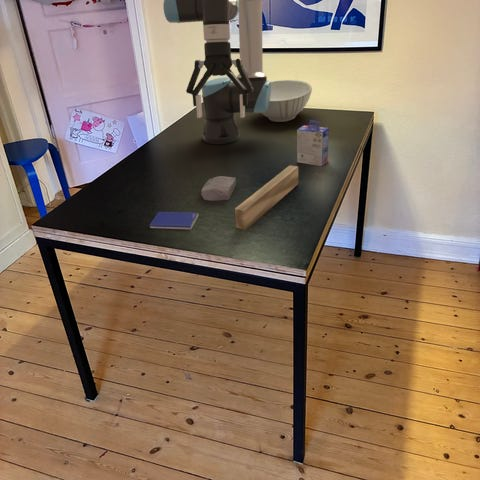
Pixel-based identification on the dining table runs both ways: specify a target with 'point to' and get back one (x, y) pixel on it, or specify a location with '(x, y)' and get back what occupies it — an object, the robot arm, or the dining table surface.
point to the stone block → (218, 188)
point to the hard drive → (174, 220)
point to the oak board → (266, 197)
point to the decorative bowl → (287, 99)
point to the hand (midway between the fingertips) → (221, 117)
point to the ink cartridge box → (312, 144)
